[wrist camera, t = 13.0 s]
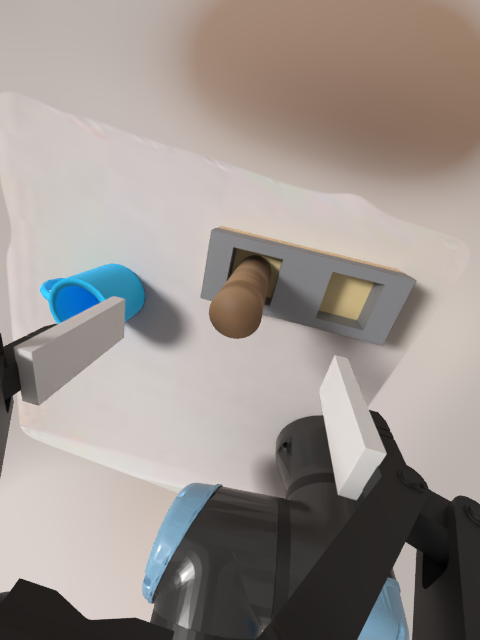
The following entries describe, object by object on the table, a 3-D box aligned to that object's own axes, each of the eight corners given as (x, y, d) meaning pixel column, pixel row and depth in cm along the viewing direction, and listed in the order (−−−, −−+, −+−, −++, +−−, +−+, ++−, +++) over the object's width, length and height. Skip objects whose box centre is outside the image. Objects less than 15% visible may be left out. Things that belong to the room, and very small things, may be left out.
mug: (147, 272, 37) (113, 289, 30) (142, 323, 41) (110, 349, 33) (68, 249, 38) (15, 260, 30) (69, 300, 41) (22, 322, 34)
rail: (397, 269, 32) (416, 280, 27) (369, 327, 35) (382, 345, 31) (221, 226, 33) (211, 229, 28) (211, 286, 36) (200, 298, 32)
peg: (274, 282, 33) (267, 332, 20) (244, 290, 34) (219, 343, 21) (266, 251, 31) (252, 283, 19) (234, 260, 32) (201, 296, 20)
